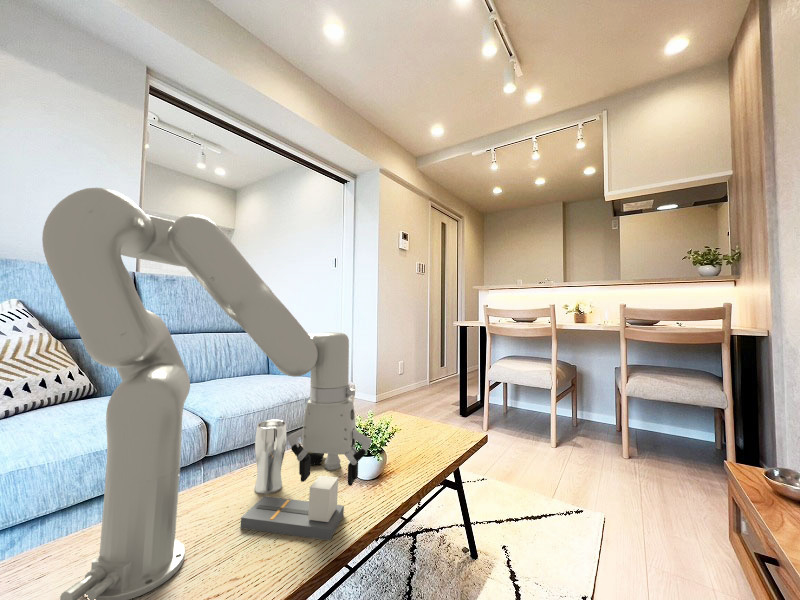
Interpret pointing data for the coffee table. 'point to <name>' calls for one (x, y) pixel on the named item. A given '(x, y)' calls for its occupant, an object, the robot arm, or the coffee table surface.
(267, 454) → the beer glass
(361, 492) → the coffee table surface
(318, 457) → the tape measure
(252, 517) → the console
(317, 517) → the fader knob
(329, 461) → the rook chess piece
